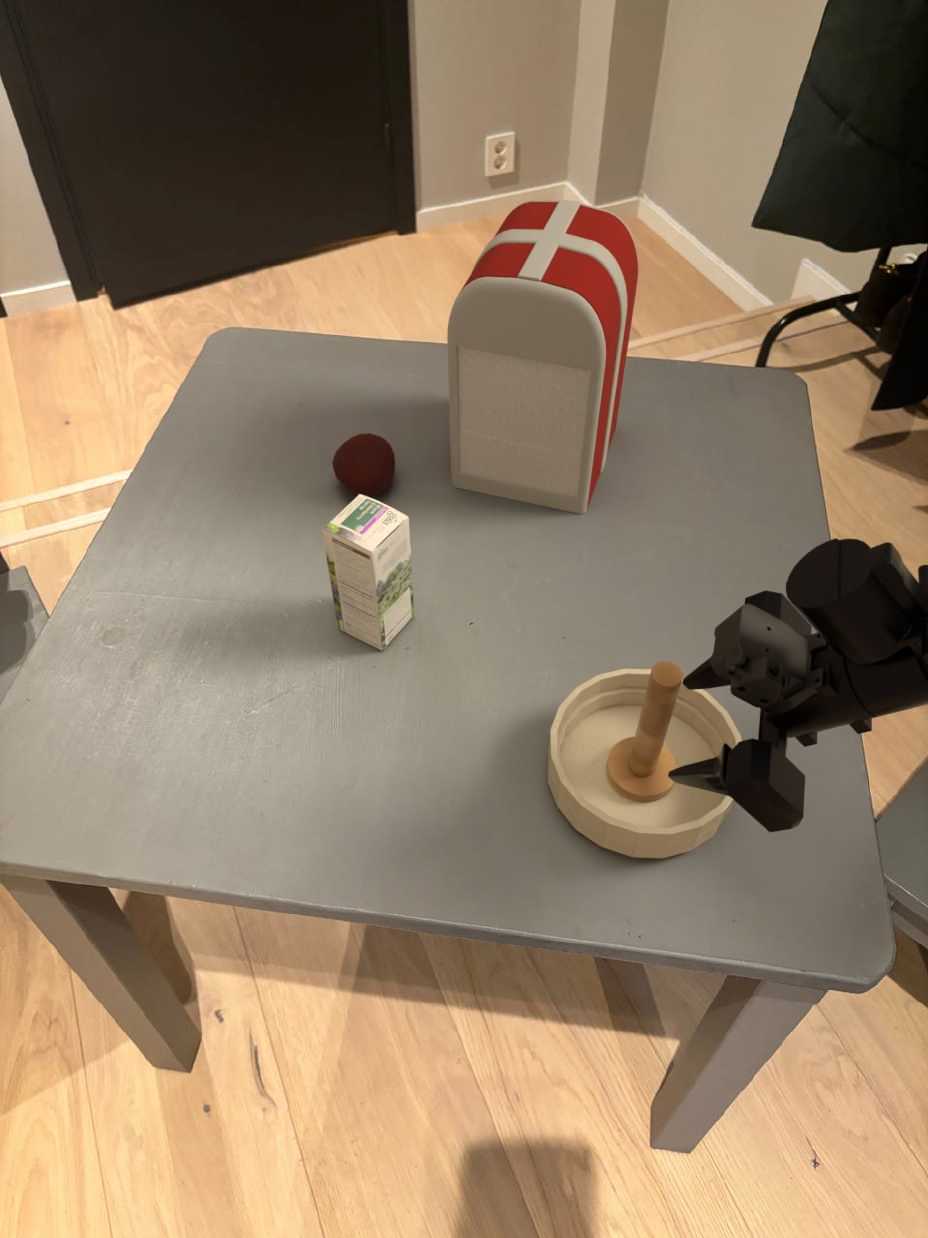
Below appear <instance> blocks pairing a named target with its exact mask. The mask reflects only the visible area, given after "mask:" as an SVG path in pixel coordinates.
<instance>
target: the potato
mask: <svg viewBox="0 0 928 1238" xmlns="http://www.w3.org/2000/svg"><path fill="white" fill-rule="evenodd" d="M395 456H396V455H395V452H394V449H393V447H392V445H391V444H390V442H389V441H387V440H386V439H385V438H383V436H380V435H377V434H375V433H369V432H368V433H358V434H356V435H353V436H351V437H350V438H348V439H347V440H345V442H342V444H341V445H340V446H339V447H338V448H337V449H336V450H335V453H334V455H333V459H332V469H333V472H334V475H335V477H336V480H338V481H339V482H340V484H341V485H342V486H343V487H344V488H345V489H346V490H347V491H349V492H351V493H353V494H355V495H357V496H358V495H359V494H361V495H364V496H367V497H370V496H374V495H377V494H379V493H381V492H383V491H384V490H386V489H387V488H388V487H389V485H390V484H391V483H392V480H393V478H394V475H395V469H396V457H395Z"/></svg>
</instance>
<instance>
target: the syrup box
mask: <svg viewBox="0 0 928 1238" xmlns="http://www.w3.org/2000/svg"><path fill="white" fill-rule="evenodd" d="M321 533H322V539H323V544H324V545H323V546H324V551H325V557H326V563H327V570H328V577H329V582H330V587H331V594H332V599H333V606H334V612H335V613H334V614H335V619H336V626H337V629H339V630H340V631H342V632H344V633H346V634H348V635H349V636H351V637H354V638H355V639H358V641H361V642H363V643H365V644H367V645H369V646H371V647H373V648H375V649H378V650H379V651H381V652H384V651H385V650H386V649H387V648H388V646H389V645H390V644H391V643H392V642H393V641H394V639H395V638H396V637H397V636H398V635H399V634H400V633H401V632H402V630H403V629H404V628H405V627H406V626H407V625H408V624H409V622H411V620H412V619H413V618H414V617H415V602H414V587H413V586H414V585H413V583H414V582H413V566H412V565H413V563H412V549H411V535H410V534H411V533H410V518H409V516H408V515H407V514H405V513H403V512H401V511H399V510H397V509H396V508H393V507H392V506H390V505H387V504H385V503H384V502H381V501H379V500H377V499H374V498H372V497H370V496H367V495H361V494H359V495H357V496H356V497H354V499H353V500H352V501H350V502H349V504H347V505H346V506H345V507H344V508H343V509H342V510H341V511H340V512H339V513H338V514H337V515H336V516H334V518H332V520H330V521H329V523H327V524H326V525H325V526H324V527H323V528H322V529H321Z"/></svg>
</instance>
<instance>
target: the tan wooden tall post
mask: <svg viewBox="0 0 928 1238" xmlns="http://www.w3.org/2000/svg"><path fill="white" fill-rule="evenodd" d="M651 669H652V670H651V674H650V678H649V682H648V686H647V690H646V694H645V698H644V702H643V706H642V710H641V714H640V718H639V722H638V726H637V730H636V734H635V737H629V738H626V739H623V740H621V741H620V742H618V743H617V744H616V745H615V746H614V747H613V748H612V749H611V751H610V753H609V756H608V760H607V765H606V773H607V777H608V780H609V782H610V784H611V785H612V787H613V788H614V789H615V790H616V791H617V792H618V793H619V794H620V795H622V796H624V797H625V798H627V799H630V800H632V801H636V802H652V801H656V800H659V799H661V798H663V797H664V796H665V795H667V794H668V793H669V791H670V790H671V788H672V787H673V784H674V781H672V780H671V779H670V778H669V777H668V773H669V771H672V770H674V769H676V768H677V766H676V762H675V759H674V757H673V755H672V753H671V752H670V751H669V750H668V749H667V748H666V747H665V746H664V745H663V743H664V740H665V737H666V733H667V730H668V727H669V723H670V720H671V717H672V713H673V710H674V706H675V703H676V700H677V696H678V693H679V690H680V686H681V683H682V680H683V678H684V673H683V670H682V669H681V668H680V666H679V665H677V664H676V663H674V662H671V661H666V660H665V661H659V662H657V663H656V664H654V665H653V666H652V668H651Z"/></svg>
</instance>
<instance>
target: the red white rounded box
mask: <svg viewBox="0 0 928 1238" xmlns="http://www.w3.org/2000/svg"><path fill="white" fill-rule="evenodd" d="M639 265H640V263H639V255H638V250H637V245H636V241H635V239H634V236H633V234H632V232H631V230H630V228H629V227H628V225H627V224H626V223H625V222H624V220H623V219H622V218H621V217H619V215H617V214H615V213H614V212H612V211H611V210H607V209H603V208H599V207H596V206H592V205H589V204H586V203H581V202H580V201H576V200H568V199H563V198H561V199H559V200H557V199H556V200H553V199H552V200H551V199H550V200H549V199H548V200H547V199H544V200H542V199H541V200H538V199H536V200H535V199H532V200H531V199H530V200H527V201H524V202H522V203H520V204H518V205H517V206H516V207H515V208H513V209H512V210H511V211H510V213H508V215H507V216H506V217H505V219H504V220H503V222H502V223H501V224H500V227H499V228H498V230H497V231H496V232H495V235H494V237H493V238H492V239H490V241H488V243H487V244H486V245H485V247H484V248H483V250H482V252H481V253H480V255H479V257H478V258H477V259H476V261H475V263H474V266H473V268H472V270H471V273H470V274H469V277H468V278H467V280H466V281H465V283H464V285H463V286H462V287H461V289H460V291H459V293H458V294H457V296H456V298H455V300H454V302H453V304H452V307H451V308H450V313H449V316H448V321H447V322H448V323H447V332H446V333H447V335H446V336H447V337H446V339H447V341H446V342H447V367H448V368H447V370H448V371H447V375H448V402H449V403H448V405H449V407H448V408H449V438H450V442H449V443H450V470H451V471H450V475H451V486H452V487H453V488H456V489H461V490H465V491H471V492H474V493H475V492H476V493H480V494H485V495H489V496H493V497H499V498H504V499H507V500H512V501H518V502H522V503H527V504H531V505H536V506H539V507H545V508H549V509H555V510H559V511H563V512H568V513H573V514H578V515H583V514H585V513H586V512H587V510H588V509H589V506H590V503H591V501H592V497H593V495H594V492H595V489H596V485H597V483H598V480H599V477H600V475H601V474H602V473H603V471H604V469H605V465H606V463H607V456H608V452H609V449H610V447H611V444H612V441H613V437H614V435H615V431H616V429H617V426H618V425H617V424H618V418H619V410H620V403H621V397H622V391H623V384H624V377H625V370H626V363H627V357H628V349H629V343H630V337H631V329H632V323H633V318H634V317H633V316H634V309H635V302H636V295H637V290H638V283H639V282H638V281H639V273H640V271H639V269H640V268H639V267H640V266H639Z"/></svg>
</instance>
